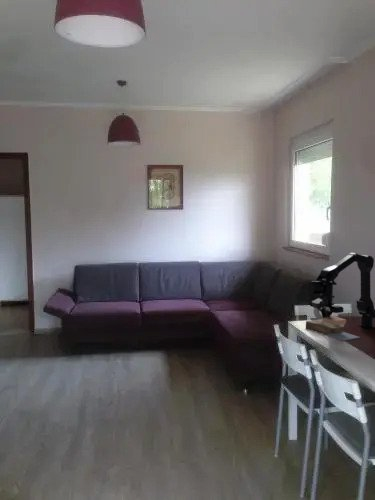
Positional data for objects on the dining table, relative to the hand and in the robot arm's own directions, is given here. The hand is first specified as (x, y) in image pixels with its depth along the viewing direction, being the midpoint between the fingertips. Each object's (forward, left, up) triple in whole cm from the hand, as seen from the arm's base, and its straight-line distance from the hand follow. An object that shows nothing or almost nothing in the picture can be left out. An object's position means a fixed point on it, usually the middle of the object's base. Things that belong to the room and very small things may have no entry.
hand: (325, 322), depth 238 cm
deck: (0, -1, -4) cm, 5 cm away
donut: (-16, -18, -5) cm, 25 cm away
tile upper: (0, +6, +2) cm, 6 cm away
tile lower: (0, +5, 0) cm, 5 cm away
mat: (0, +12, -4) cm, 13 cm away
